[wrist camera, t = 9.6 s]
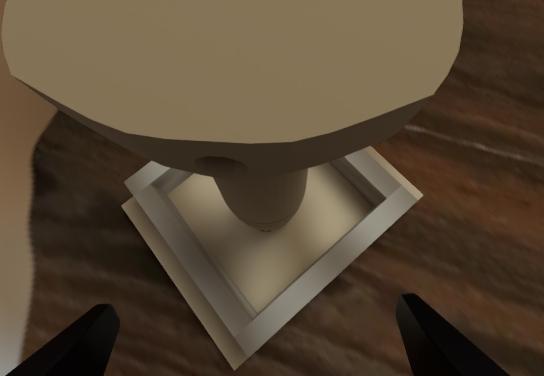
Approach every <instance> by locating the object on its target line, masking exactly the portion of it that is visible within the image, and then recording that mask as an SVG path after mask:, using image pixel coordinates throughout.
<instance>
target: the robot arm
mask: <svg viewBox="0 0 544 376" xmlns="http://www.w3.org/2000/svg"><path fill="white" fill-rule="evenodd" d="M396 319H397V322H398V326H399V329H400V332H401V336H402V339H403V343H404V346H405V349H406V353H407V356H408V359H409V363H410V366H411V369H412V372H413V375H414V376H510V375H509V374H508V373H507V372H505V371H504V370H503V369H502V368H501V367H500V366H498V365H497V364H496V363H495V362H494V361H493V360H492V359H490V358H489V357H488V356H487V355H486V354H485V353H483V352H482V351H481V350H480V349H479V348H478V347H477V346H475V345H474V344H473V343H472V342H471V341H470V340H468V339H467V338H466V337H465V336H464V335H463V334H461V333H460V332H459V331H458V330H457V329H456V328H455V327H453V326H452V325H451V324H450V323H449V322H448V321H446V320H445V319H444V318H443V317H442V316H441V315H440V314H438V313H437V312H436V311H435V310H434V309H433V308H431V307H430V306H429V305H428V304H427V303H426V302H424V301H423V300H422V299H421V298H420V297H419V296H418V295H416V294H414V293H401V294H400V295H399V298H398V303H397V307H396ZM119 328H120V319H119V317H118V315H117V313H116V312H115V310H114V308H113V306H112V305H111V304H98V305H96V306H94V307H93V308H91V309H90V310H89V311H88V312H86V313H85V314H84V315H82V316H81V317H80V318H79V319H77V320H76V321H75V322H73V323H72V324H71V325H70V326H68V327H67V328H66V329H64V330H63V331H62V332H61V333H59V334H58V335H57V336H56V337H54V338H53V339H52V340H50V341H49V342H48V343H47V344H45V345H44V346H43V347H41V348H40V349H39V350H38V351H36V352H35V353H34V354H32V355H31V356H30V357H29V358H27V359H26V360H25V361H23V362H22V363H21V364H20V365H18V366H17V367H16V368H15V369H13V370H12V371H11V372H10V373H8V374H7V375H6V376H103V375H104V372H105V370H106V367H107V364H108V361H109V358H110V355H111V352H112V349H113V346H114V343H115V340H116V337H117V334H118V331H119Z"/></svg>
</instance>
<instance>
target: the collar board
mask: <svg viewBox="0 0 544 376" xmlns="http://www.w3.org/2000/svg"><path fill="white" fill-rule="evenodd" d="M124 183H125V184H126V186H127V187H128V189H129V190H130V191H131V193H132V194H133V197H132V198H131V199H129V200H128V201H127V202H126V203H124V204H123V205H122V208H123V209H124V211H125V212H126V214H127V215H128V216H129V218H130V219H131V221H132V222H133V224H134V225H135V227H136V228H137V230H138V231H139V233H140V234H141V235H142V237H143V238H144V240H145V241H146V243H147V244H148V246H149V247H150V249H151V250H152V251H153V253H154V254H155V256H156V257H157V259H158V260H159V262H160V263H161V265H162V266H163V268H164V269H165V270H166V272H167V273H168V275H169V276H170V278H171V279H172V281H173V282H174V284H175V285H176V286H177V288H178V289H179V291H180V292H181V294H182V295H183V297H184V298H185V300H186V301H187V303H188V304H189V305H190V307H191V308H192V310H193V311H194V313H195V314H196V316H197V317H198V319H199V320H200V321H201V323H202V324H203V326H204V327H205V329H206V330H207V332H208V333H209V335H210V336H211V338H212V339H213V340H214V342H215V343H216V345H217V346H218V348H219V349H220V351H221V352H222V354H223V355H224V356H225V358H226V359H227V361H228V362H229V364H230V365H231V367H232V368H233V370H236V369H237V368H238V367H239V366H240V365H241V364H242V363H243V362H244V361H245V360H246V359H247V358H249V357H250V356H251V355H252V354H253V353H254V352H255V351H257V350H258V349H259V348H260V347H261V346H262V345H263V344H264V343H265V342H266V341H267V340H268V339H269V338H271V337H272V336H273V335H274V334H275V333H276V332H277V331H278V330H279V329H280V328H281V327H282V326H283V325H285V324H286V323H287V322H288V321H289V320H290V319H291V318H292V317H293V316H294V315H295V314H296V313H297V312H299V311H300V310H301V309H302V308H303V307H304V306H305V305H306V304H307V303H308V302H309V301H310V300H311V299H312V298H314V297H315V296H316V295H317V294H318V293H319V292H320V291H321V290H322V289H323V288H324V287H325V286H326V285H328V284H329V283H330V282H331V281H332V280H333V279H334V278H335V277H336V276H337V275H338V274H339V273H340V272H342V271H343V270H344V269H345V268H346V267H347V266H348V265H349V264H350V263H351V262H352V261H353V260H354V259H356V258H357V257H358V256H359V255H360V254H361V253H362V252H363V251H364V250H365V249H366V248H367V247H368V246H370V245H371V244H372V243H373V242H374V241H375V240H376V239H377V238H378V237H379V236H380V235H381V234H382V233H384V232H385V231H386V230H387V229H388V228H389V227H390V226H391V225H392V224H393V223H394V222H395V221H396V220H398V219H399V218H400V217H401V216H402V215H403V214H404V213H405V212H406V211H407V210H408V209H409V208H410V207H411V206H413V205H414V204H415V203H416V202H417V201H418V200H419V199H420V198H421V197H422V196H423V194H422V193H421V192H419V191H418V190H417V189H416V188H415V187H414V186H413V185H412V184H411V183H410V182H409V181H408V180H407V179H405V178H404V177H403V176H402V175H401V174H400V173H399V172H398V171H397V170H396V169H395V168H394V167H392V166H391V165H390V164H389V163H388V162H387V161H386V160H385V159H384V158H383V157H382V156H381V155H380V154H378V153H377V152H376V151H375V150H374V149H373V148H372V147H371V146H369V147H366V148H364V149H361V150H359V151H356V152H354V153H351V154H349V155H346V156H344V157H341V158H338V159H336V160H333V161H330V162H327V163H324V164H321V165H318V166H315V167H311V168H308V174H307V183H306V191H305V194H304V198H303V201H302V203H301V205H300V208H299V210H298V211H297V212H296V214H295V215H294V217H293V218H292V219H291V220H290V221H289V222H288V223H286V224H285V225H284V226H282V227H280V228H278V229H275V230H272V231H271V232H261V231H259V230H258V229H255V228H252V227H250V226H248V225H246V224H245V223H244V222H242V221H241V220H239V219H238V218H237V217H236V216H235V215H234V214H233V212H232V211H231V210H230V209H229V207H228V206H227V205H226V203H225V201H224V199H223V197H222V195H221V193H220V191H219V189H218V187H217V185H216V183H215V181H214V179H213V177H210V176H203V175H199V174H196V173H191V172H187V171H183V170H178V169H174V168H169V167H165V166H162V165H160V164H158V163H156V162H154V161H151V162H150V163H148V164H147V165H146V166H144V167H143V168H142V169H140V170H139V171H138V172H136V173H135V174H134V175H132V176H131V177H130V178H129V179H127V180H126V181H125V182H124Z"/></svg>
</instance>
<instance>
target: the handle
mask: <svg viewBox="0 0 544 376" xmlns="http://www.w3.org/2000/svg"><path fill="white" fill-rule="evenodd" d="M462 28H463V11H462V0H7V2H6V5H5V10H4V17H3V23H2V30H1V35H2V41H3V48H4V54H5V58H6V60H7V63H8V66H9V69H10V72H11V74H12V76H14V77H15V78H16V79H18V80H19V81H21V82H22V83H23V84H25V85H26V86H28V87H29V88H30V89H32V90H33V91H34V92H36V93H37V94H39V95H40V96H41V97H43V98H44V99H45V100H47V101H48V102H50V103H51V104H53V105H54V106H55V107H57V108H58V109H60V110H61V111H63V112H64V113H66V114H67V115H69V116H71V117H72V118H74V119H76V120H77V121H79V122H81V123H82V124H84V125H86V126H87V127H89V128H91V129H92V130H94V131H96V132H98V133H99V134H101V135H103V136H105V137H106V138H108V139H110V140H112V141H113V142H115V143H117V144H119V145H121V146H123V147H125V148H127V149H128V150H130V151H132V152H134V153H136V154H139V155H141V156H143V157H145V158H147V159H149V160H151V161H154V162H156V163H158V164H160V165H162V166H165V167H169V168H174V169H178V170H183V171H187V172H191V173H196V174H199V175H203V176H210V177H213V179H214V181H215V183H216V185H217V187H218V189H219V191H220V193H221V195H222V197H223V199H224V201H225V203H226V205H227V206H228V207H229V209H230V210H231V211H232V212H233V214H234V215H235V216H236V217H237V218H238V219H239V220H241V221H242V222H244V223H245V224H246V225H248V226H250V227H252V228H255V229H258V230H259V231H261V232H271V231H272V230H275V229H278V228H280V227H282V226H284V225H285V224H286V223H288V222H289V221H290V220H291V219H292V218H293V217H294V215H295V214H296V212H297V211H298V210H299V208H300V205H301V203H302V201H303V198H304V194H305V191H306V183H307V174H308V168H311V167H315V166H318V165H321V164H324V163H327V162H330V161H333V160H336V159H338V158H341V157H344V156H346V155H349V154H351V153H354V152H356V151H359V150H361V149H364V148H366V147H369V146H371V145H373V144H376V143H378V142H380V141H382V140H385V139H387V138H389V137H391V136H393V135H395V134H396V133H398V132H399V131H400V130H401V129H402V128H403V127H404V126H405V125H406V124H407V123H408V122H409V121H410V120H411V119H412V118H413V117H414V116H415V114H416V113H417V112H418V111H419V110H420V109H421V108H422V107H423V105H424V104H425V103H426V102H427V101H428V100H429V99H430V98H431V96H432V95H433V94H434V93H435V91H436V90H437V89H438V87H439V86H440V84H441V83H442V81H443V80H444V79H445V77H446V76H447V74H448V73H449V71H450V68H451V66H452V64H453V62H454V60H455V58H456V56H457V54H458V52H459V47H460V41H461V34H462Z"/></svg>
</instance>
